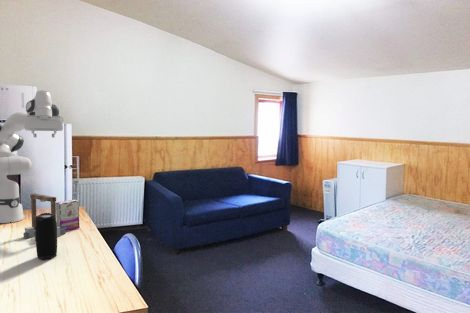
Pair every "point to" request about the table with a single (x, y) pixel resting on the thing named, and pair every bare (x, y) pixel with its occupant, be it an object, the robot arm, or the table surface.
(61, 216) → the candy bar box
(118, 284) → the table surface
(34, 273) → the table surface
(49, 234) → the portable speaker
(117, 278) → the table surface
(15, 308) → the table surface
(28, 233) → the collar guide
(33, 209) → the aperture gantry
